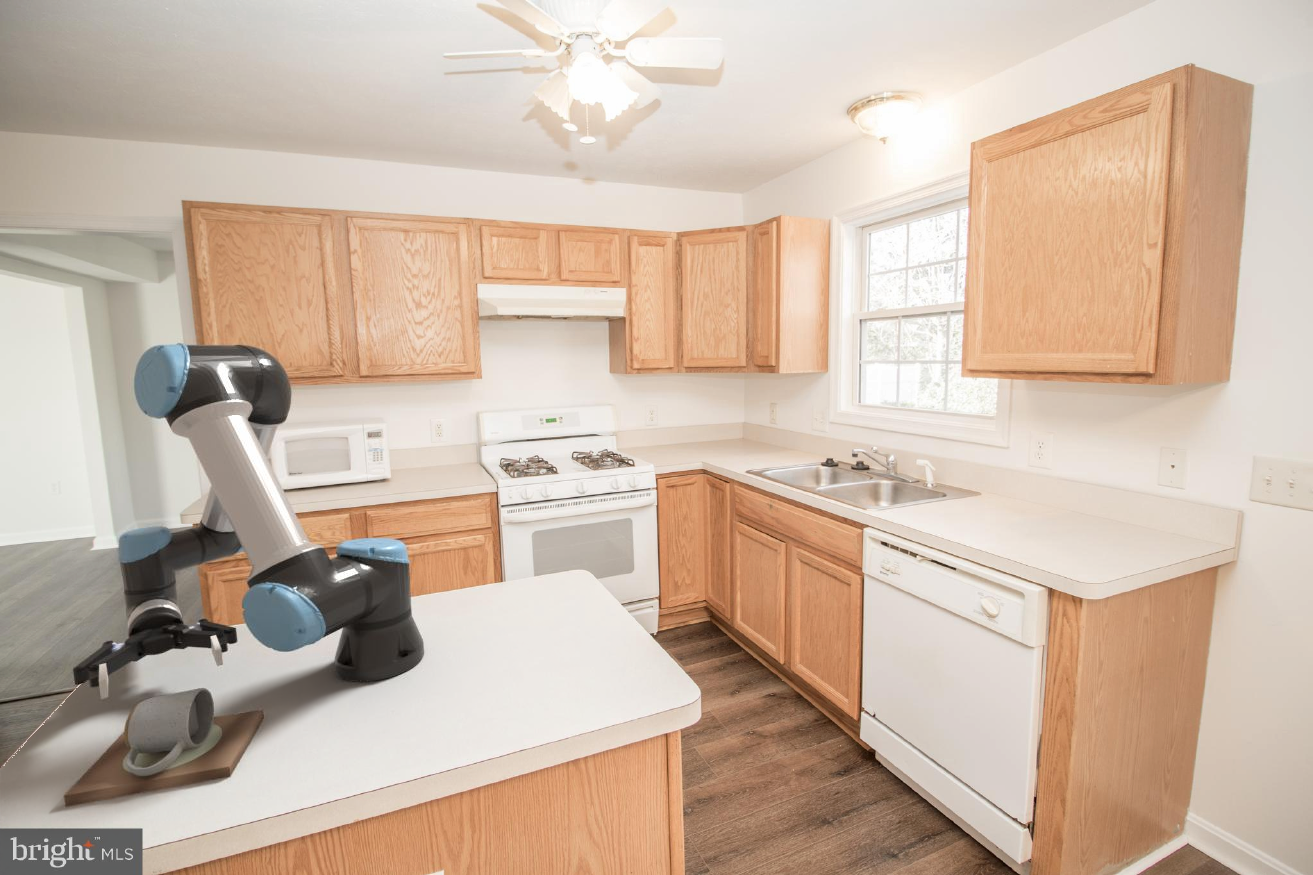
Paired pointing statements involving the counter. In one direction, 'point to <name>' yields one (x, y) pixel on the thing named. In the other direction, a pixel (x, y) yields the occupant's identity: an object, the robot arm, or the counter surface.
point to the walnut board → (189, 767)
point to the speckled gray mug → (168, 727)
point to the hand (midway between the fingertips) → (164, 672)
